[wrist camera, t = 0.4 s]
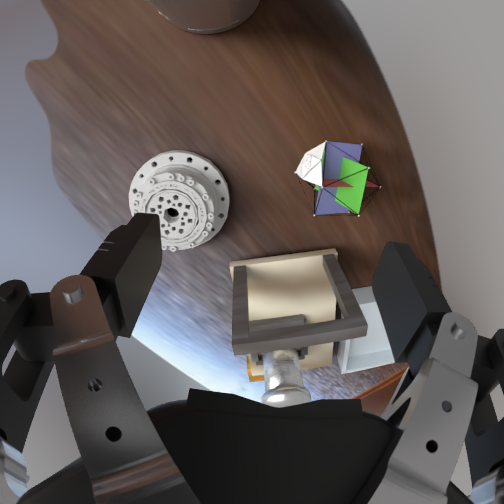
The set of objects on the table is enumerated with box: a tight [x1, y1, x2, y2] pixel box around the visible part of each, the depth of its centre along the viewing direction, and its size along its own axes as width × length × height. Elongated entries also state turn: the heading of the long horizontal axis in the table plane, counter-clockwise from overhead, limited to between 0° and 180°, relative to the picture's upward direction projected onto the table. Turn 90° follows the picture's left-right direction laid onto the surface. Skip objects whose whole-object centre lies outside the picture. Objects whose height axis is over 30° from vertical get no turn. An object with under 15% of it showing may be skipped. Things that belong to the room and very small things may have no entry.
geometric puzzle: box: [295, 140, 381, 216], centre depth 26 cm, size 7×7×8 cm
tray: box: [337, 286, 395, 374], centre depth 38 cm, size 13×10×3 cm
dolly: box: [230, 248, 368, 382], centre depth 32 cm, size 20×12×13 cm, turn 7°
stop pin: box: [261, 348, 312, 407], centre depth 32 cm, size 5×5×10 cm
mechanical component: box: [129, 150, 230, 252], centre depth 28 cm, size 10×4×10 cm
